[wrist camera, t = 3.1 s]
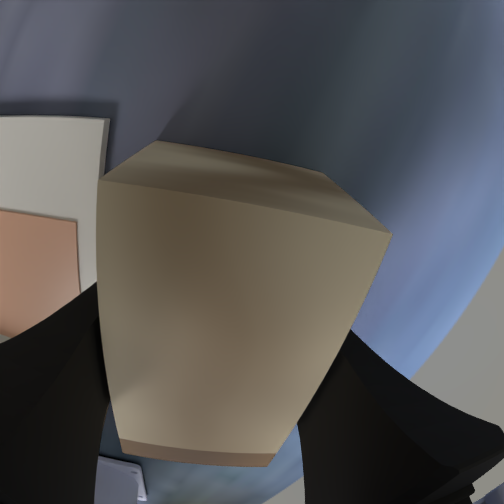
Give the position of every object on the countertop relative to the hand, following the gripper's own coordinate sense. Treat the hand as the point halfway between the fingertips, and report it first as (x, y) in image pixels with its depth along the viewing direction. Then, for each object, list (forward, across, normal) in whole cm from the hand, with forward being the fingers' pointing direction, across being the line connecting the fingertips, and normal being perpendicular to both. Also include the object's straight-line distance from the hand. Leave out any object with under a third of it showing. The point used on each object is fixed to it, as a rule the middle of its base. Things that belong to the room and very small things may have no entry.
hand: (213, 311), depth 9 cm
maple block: (+1, 0, 0) cm, 1 cm away
